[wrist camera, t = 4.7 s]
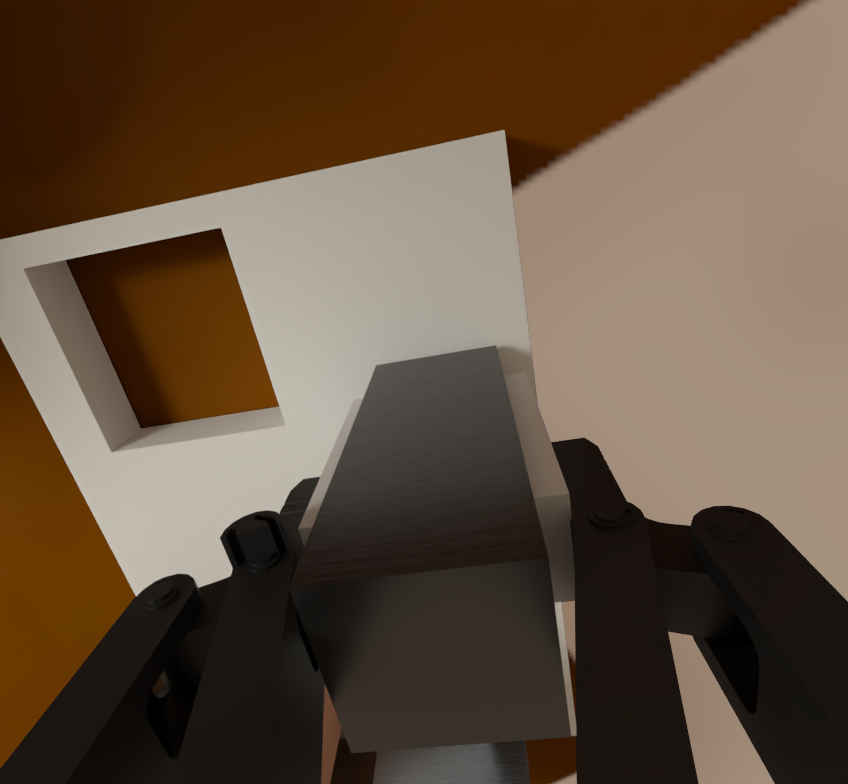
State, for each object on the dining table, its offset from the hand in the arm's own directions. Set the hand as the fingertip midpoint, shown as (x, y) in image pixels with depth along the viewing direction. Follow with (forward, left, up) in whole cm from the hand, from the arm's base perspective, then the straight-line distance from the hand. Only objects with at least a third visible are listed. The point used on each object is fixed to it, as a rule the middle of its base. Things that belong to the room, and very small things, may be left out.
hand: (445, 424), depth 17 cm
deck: (+5, -6, -4) cm, 8 cm away
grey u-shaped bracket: (+7, -2, -1) cm, 7 cm away
